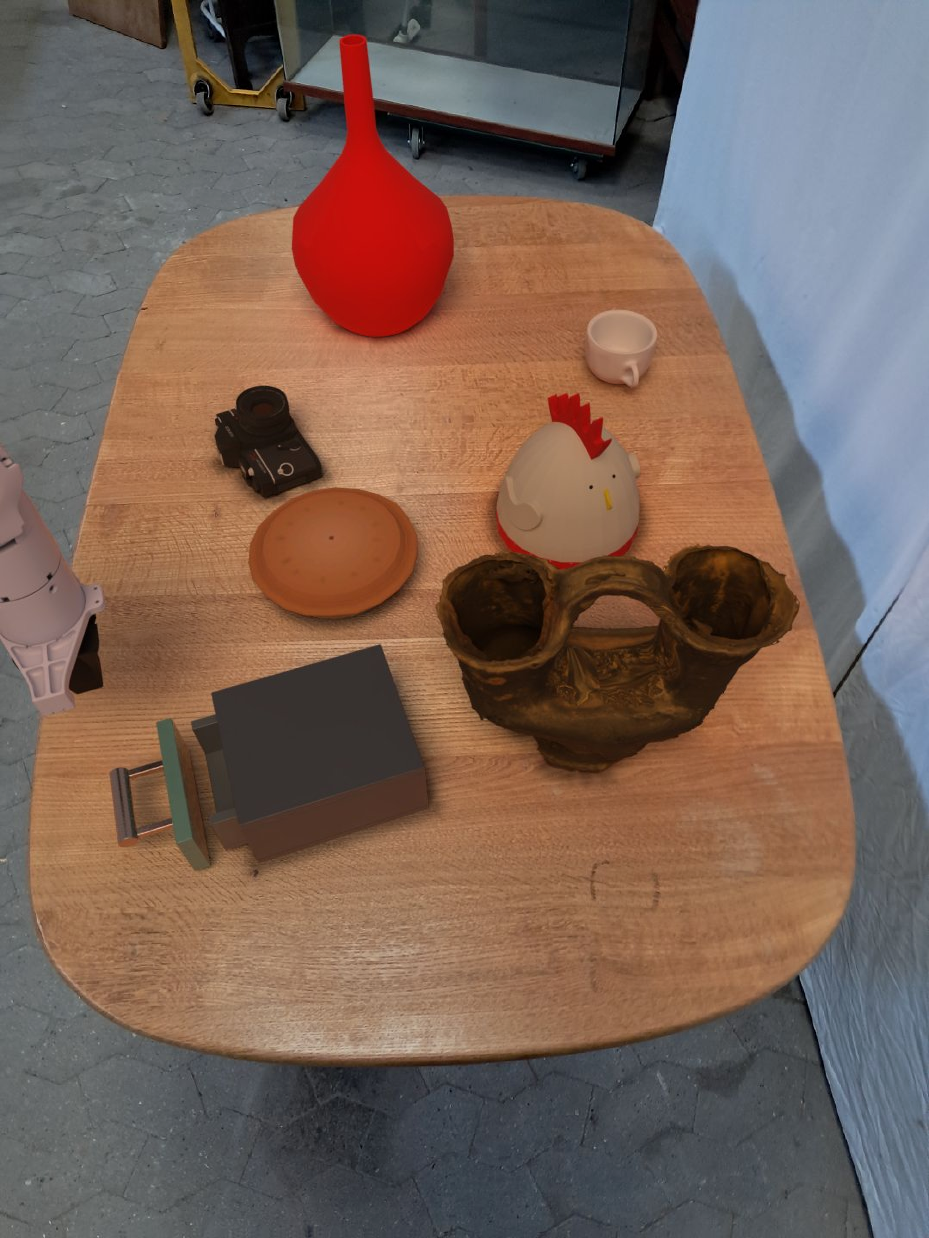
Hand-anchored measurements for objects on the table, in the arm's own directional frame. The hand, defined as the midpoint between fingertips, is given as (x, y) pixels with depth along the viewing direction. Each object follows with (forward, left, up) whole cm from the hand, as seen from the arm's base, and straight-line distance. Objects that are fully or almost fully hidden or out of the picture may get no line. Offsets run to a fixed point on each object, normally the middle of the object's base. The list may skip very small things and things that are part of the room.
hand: (88, 683), depth 68 cm
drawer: (+8, -8, -9) cm, 14 cm away
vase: (+36, +50, -10) cm, 62 cm away
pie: (+21, +12, -10) cm, 26 cm away
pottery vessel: (+37, -11, -10) cm, 40 cm away
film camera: (+18, +30, -10) cm, 36 cm away
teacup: (+58, +29, -10) cm, 66 cm away
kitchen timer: (+44, +11, -10) cm, 46 cm away
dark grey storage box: (+15, -8, -9) cm, 19 cm away
